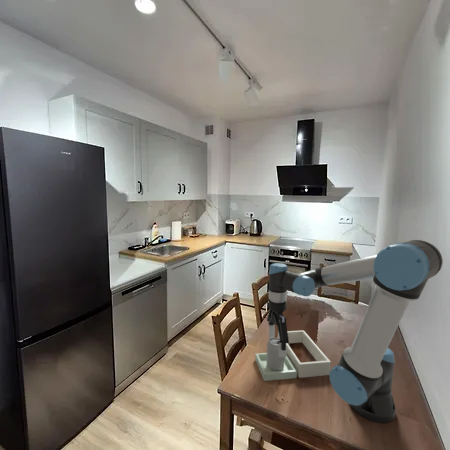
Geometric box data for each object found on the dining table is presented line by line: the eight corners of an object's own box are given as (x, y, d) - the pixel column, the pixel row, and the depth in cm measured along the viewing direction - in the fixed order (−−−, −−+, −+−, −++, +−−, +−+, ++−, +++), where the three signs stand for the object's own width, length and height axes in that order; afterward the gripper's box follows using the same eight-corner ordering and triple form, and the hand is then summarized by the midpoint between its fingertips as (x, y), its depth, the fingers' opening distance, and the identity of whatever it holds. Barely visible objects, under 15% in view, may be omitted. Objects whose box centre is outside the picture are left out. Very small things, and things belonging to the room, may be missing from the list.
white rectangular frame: (329, 374, 111) (330, 361, 110) (298, 377, 108) (299, 364, 108) (303, 341, 136) (303, 330, 135) (277, 342, 134) (277, 331, 133)
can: (284, 373, 109) (285, 346, 108) (266, 371, 111) (267, 344, 109) (283, 362, 117) (284, 337, 115) (266, 360, 118) (267, 335, 117)
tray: (296, 378, 108) (296, 371, 108) (264, 381, 106) (264, 374, 106) (284, 357, 122) (284, 351, 122) (255, 359, 120) (255, 353, 120)
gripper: (298, 311, 99) (296, 364, 101) (276, 289, 123) (275, 332, 125) (279, 312, 98) (278, 365, 100) (260, 290, 122) (260, 333, 124)
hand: (276, 347), depth 113 cm, fingers open, 13 cm apart
